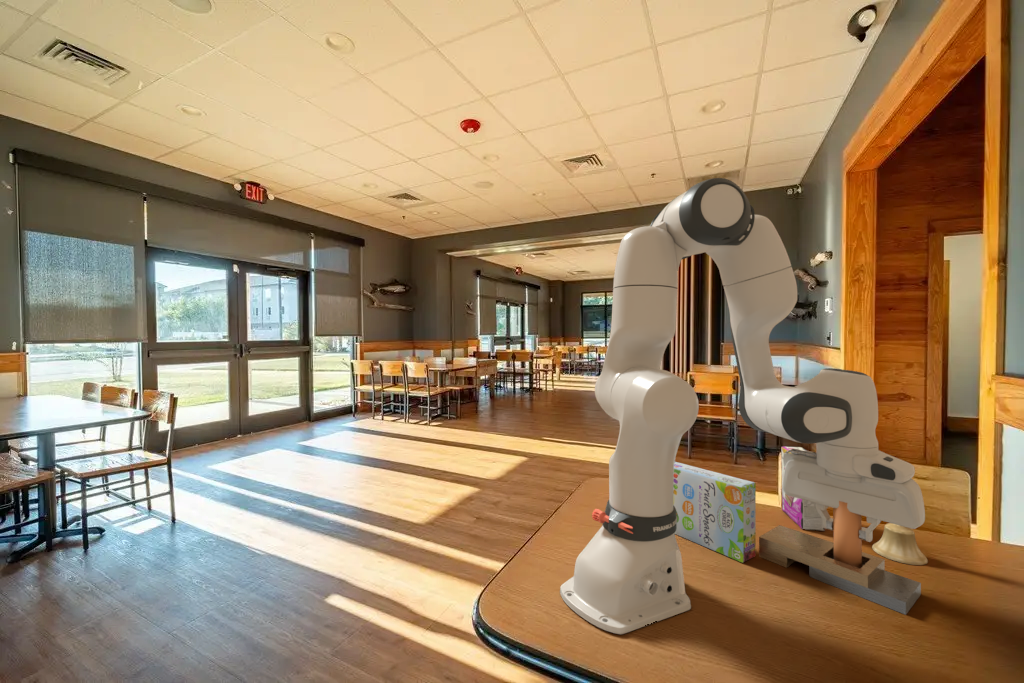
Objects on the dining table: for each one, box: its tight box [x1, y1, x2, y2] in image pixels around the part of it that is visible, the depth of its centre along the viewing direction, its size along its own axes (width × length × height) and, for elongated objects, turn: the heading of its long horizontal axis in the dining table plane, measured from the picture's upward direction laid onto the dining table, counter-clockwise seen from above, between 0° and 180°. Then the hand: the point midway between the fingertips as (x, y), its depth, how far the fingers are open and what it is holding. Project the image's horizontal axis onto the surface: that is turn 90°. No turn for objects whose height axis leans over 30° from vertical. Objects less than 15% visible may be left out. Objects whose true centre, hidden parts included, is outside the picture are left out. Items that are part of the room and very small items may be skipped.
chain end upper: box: [758, 524, 886, 588], centre depth 80 cm, size 9×17×4 cm, turn 35°
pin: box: [832, 501, 863, 568], centre depth 77 cm, size 4×4×12 cm
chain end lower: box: [808, 558, 922, 616], centre depth 75 cm, size 9×13×2 cm
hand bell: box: [871, 522, 929, 566], centre depth 85 cm, size 8×8×16 cm
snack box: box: [673, 461, 757, 564], centre depth 92 cm, size 21×6×15 cm, turn 34°
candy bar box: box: [780, 446, 826, 532], centre depth 101 cm, size 11×5×16 cm, turn 168°
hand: (847, 534), depth 77 cm, fingers closed on pin, 4 cm apart
